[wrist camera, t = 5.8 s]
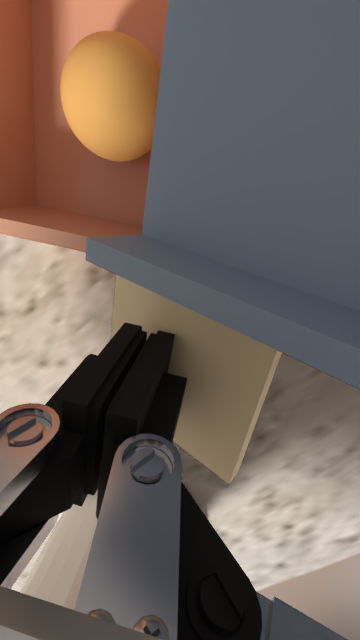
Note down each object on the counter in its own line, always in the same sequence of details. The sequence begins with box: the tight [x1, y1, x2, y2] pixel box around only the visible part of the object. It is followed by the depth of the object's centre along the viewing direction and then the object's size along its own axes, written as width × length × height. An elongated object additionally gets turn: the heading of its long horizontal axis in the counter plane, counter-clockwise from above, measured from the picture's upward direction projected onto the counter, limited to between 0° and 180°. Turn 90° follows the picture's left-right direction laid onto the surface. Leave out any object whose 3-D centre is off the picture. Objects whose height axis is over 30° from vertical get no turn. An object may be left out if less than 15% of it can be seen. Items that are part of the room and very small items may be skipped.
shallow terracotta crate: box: [0, 0, 169, 252], centre depth 12 cm, size 11×11×5 cm
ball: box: [60, 31, 161, 162], centre depth 12 cm, size 4×4×4 cm
